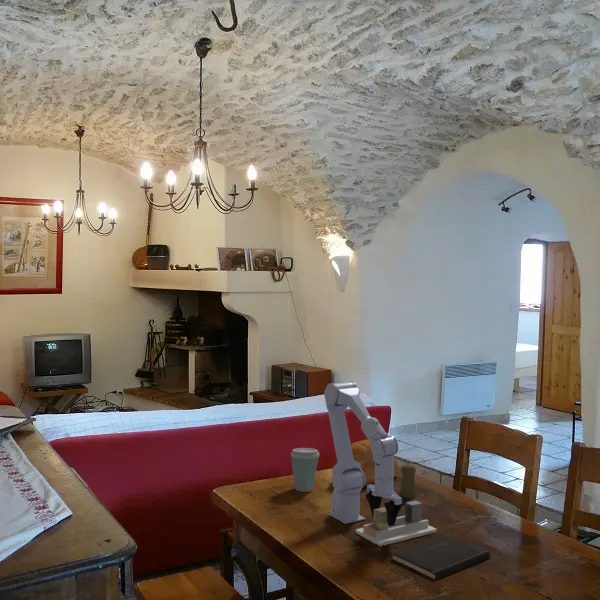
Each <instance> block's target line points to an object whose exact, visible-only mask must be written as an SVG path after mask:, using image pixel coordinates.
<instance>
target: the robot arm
mask: <svg viewBox="0 0 600 600" xmlns="http://www.w3.org/2000/svg"><path fill="white" fill-rule="evenodd" d="M323 393H324V401H325V405H326V406H325V407H326V409H327V413H328V417H329V424H330V430H331V433H332V439H333V440H332V441H333V445H334V449H335V455H336V461H337V462H336V464H335V465H334V466H333V467H332V469H331V474H332V478H331V483H332V488H333V489H334V490H333V491H332V493H331V510H330V513H328V515H329V516H331V517H333V519H335V520H338V521H340V522H341V523H343V524H345V525H346V524H351V523H355V522H361V521H364V520H365V519H366V518H365V517H364V516H362V515H360V503H361V502H360V497H361V496H360V493H361V492H362V488H364V487H365V486H364V485H365V475H364V473H363V471H362V469H361V465H360V464H359V463H358V462H356V461H355V460H354V458H353V453H352V448H351V444H352V443H351V438H350V434H349V428H348V422H347V418H346V410H347V408H350V410H351V411H352V413H353V414H354V415H355V416H356V417H357V419H358V421H360V423H361V425H360V429H361V431H362V433H364V435H365V437H366V438H367V440H369V441H370V443H371V444H372V446H371V451H372V454H373V460H374V462H375V483H372V484H368V485H366V491H367V492H368V493H366V494H365V499H366V500H367V503H368V504H369V508H370V513H371V517H372V518H373V519H374V509H378V508H381V504H382V499H385V500H388V502H384V503H383V505H384V507H385V508H386V512H387V522H388V526H393V525H395V522H396V518H397V517H398V514H399V512H400V511H401V508H402V507H403V506H404V505H403V504H404V503H403V500H402V499H403V497H401V496H400V495H399V494H397V493H396V492H395V491H394V481H395V477H394V457H395V455H397V454H398V451H399V444H398V440H396V437H395V436H393V435H390V433H387V432H386V431H385V429H384V428H383V426H382V425H381V423H380V421H379V419H377V418H376V417H372V416H371V415H370V413H369V411H368V409H367V408H366V405H365V403H364V401H363V400H362V399H361V396H360V394H361V391H360V389H359V387H358V386H357V384H356V383H355V382H354V381H345V382H336V383H331V382H329V383H328V384H327V385H326V387H325V389H324V391H323ZM346 469H351V470H349V471H344V470H346ZM343 471H344V472H343Z"/></svg>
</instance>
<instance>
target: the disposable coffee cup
mask: <svg viewBox="0 0 600 600" xmlns="http://www.w3.org/2000/svg"><path fill="white" fill-rule="evenodd" d="M290 457H291V465H292V467H291V468H292V477H293V483H294V484H293V485H294V488H295V491H298V492H303V493H306V492H307V493H308V492H311V491H312V490H313V488H314V483H315V477H316V473H317V468H318V467H317V466H318V461H319V457H320V452H319V450H318V449H315V448H312V447H310V448H308V447H297V448H293V449H292V450H291V452H290Z"/></svg>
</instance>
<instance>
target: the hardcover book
mask: <svg viewBox="0 0 600 600" xmlns="http://www.w3.org/2000/svg"><path fill="white" fill-rule="evenodd" d="M390 554H391V556H392V560H393V559H394V561H396V562H398V563H400V564H402V563H403V564H402V565H403V566H406V565H407V566H406V567H408V568H410V567H411V569H412V568H413V570H414V569H415V570H414V571H417V572H419V573H421V574H423V575H425V576H427V577H429V578H431V579H433V580H435V581H436V580H438V579H441V578H443V577H446V576H450V575H451V574H453V573H455V572H456V573H457V572H458V571H462V570H463V569H466V568H468V567H470V566H473V565H475V564H478V563H480V562H482V561H485V560H488V559H490V558H491V554H490V551H489V550H487V549H485V548H482V547H479V546H478V545H477V546H476V545H475V544H472V543H469V542H467V541H465V540H462V539H460V538H457V537H454V536H452V535H449V534H447V533H444V534H441V535H439V536H435V537H433V538H429V539H427V540H424V541H421V542H418V543H416V544H412V545H410V546H407V547H404V548H402V549H399V550H396V551H393V552H390Z"/></svg>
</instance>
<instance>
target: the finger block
mask: <svg viewBox="0 0 600 600" xmlns="http://www.w3.org/2000/svg"><path fill="white" fill-rule="evenodd" d="M373 523H374V529H375V530H377V531H380V530H385V529H389V528H391V526H388V522H387V512H386V508H385V506H384V507H380V508H378V509H374V518H373Z"/></svg>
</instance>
